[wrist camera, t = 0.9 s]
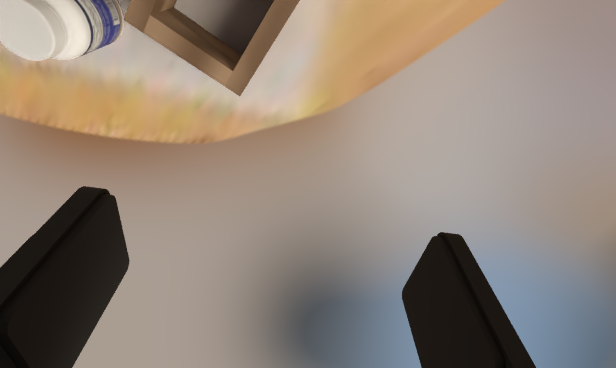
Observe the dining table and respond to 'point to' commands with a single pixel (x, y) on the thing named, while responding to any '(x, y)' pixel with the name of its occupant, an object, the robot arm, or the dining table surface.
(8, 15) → the pill bottle
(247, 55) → the well
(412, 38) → the dining table surface
